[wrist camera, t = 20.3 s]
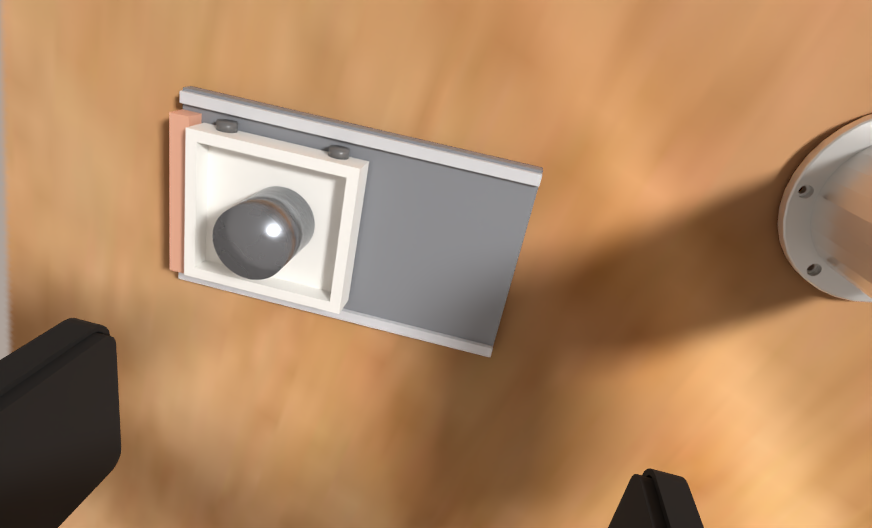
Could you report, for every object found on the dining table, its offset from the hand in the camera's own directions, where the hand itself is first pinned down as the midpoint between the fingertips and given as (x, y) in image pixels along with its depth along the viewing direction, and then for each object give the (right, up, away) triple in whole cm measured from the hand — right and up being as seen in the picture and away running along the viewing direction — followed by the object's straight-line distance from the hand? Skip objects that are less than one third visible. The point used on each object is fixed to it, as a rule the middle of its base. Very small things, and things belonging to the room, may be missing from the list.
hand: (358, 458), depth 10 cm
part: (-10, +7, +30) cm, 32 cm away
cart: (-10, +7, +30) cm, 33 cm away
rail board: (-5, +6, +31) cm, 32 cm away
